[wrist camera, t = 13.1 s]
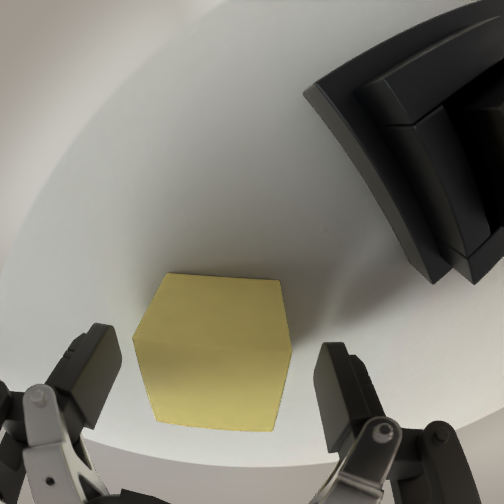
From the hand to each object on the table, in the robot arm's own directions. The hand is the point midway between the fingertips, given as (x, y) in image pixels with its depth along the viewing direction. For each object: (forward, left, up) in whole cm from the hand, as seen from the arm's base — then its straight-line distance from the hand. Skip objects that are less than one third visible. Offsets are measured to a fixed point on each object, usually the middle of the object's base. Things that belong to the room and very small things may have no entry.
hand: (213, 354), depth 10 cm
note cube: (0, 0, -2) cm, 2 cm away
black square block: (+7, +10, +2) cm, 12 cm away
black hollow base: (+9, +12, -2) cm, 15 cm away
